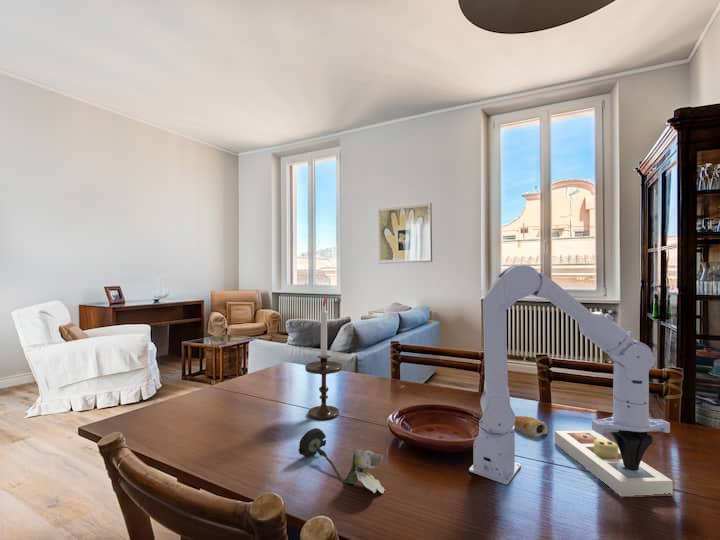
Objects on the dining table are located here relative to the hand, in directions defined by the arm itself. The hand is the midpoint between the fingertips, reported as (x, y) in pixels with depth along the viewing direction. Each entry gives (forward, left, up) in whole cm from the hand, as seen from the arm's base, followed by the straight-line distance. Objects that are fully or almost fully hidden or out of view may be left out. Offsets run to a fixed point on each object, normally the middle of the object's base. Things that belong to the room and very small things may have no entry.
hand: (630, 467), depth 73 cm
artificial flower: (-33, +47, -4) cm, 57 cm away
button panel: (+5, +5, -3) cm, 8 cm away
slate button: (0, 0, -3) cm, 3 cm away
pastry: (+14, +23, -4) cm, 27 cm away
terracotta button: (+10, +9, -3) cm, 14 cm away
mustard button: (+5, +5, -1) cm, 7 cm away
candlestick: (-14, +73, -4) cm, 74 cm away
